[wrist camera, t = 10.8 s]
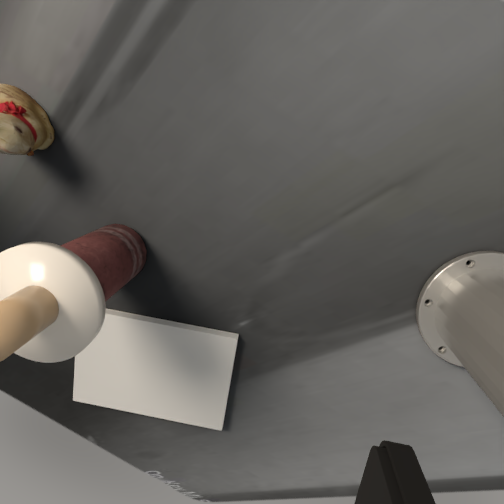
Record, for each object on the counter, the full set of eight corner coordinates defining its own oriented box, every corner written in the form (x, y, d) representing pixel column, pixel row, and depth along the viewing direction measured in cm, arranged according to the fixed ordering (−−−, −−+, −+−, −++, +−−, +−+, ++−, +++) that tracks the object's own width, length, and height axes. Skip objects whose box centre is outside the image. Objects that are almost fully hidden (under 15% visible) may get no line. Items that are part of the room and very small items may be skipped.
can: (127, 289, 44) (56, 352, 31) (83, 250, 44) (-9, 297, 30) (161, 252, 43) (103, 301, 30) (116, 211, 42) (35, 242, 29)
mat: (238, 333, 45) (237, 339, 43) (223, 423, 48) (221, 430, 47) (83, 303, 45) (77, 308, 44) (78, 394, 49) (72, 400, 47)
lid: (109, 253, 28) (62, 282, 23) (101, 364, 31) (56, 417, 25) (-12, 231, 29) (-90, 253, 23) (-10, 342, 31) (-80, 388, 25)
